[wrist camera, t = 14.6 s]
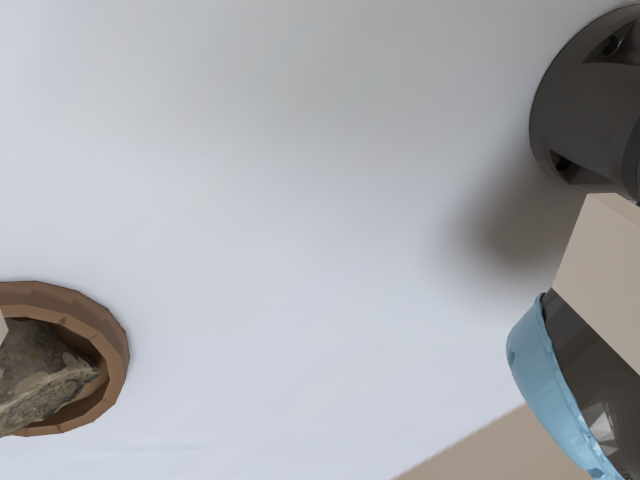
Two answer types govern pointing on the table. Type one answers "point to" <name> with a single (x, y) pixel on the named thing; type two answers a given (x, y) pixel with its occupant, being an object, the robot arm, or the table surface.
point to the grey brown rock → (38, 373)
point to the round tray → (73, 347)
